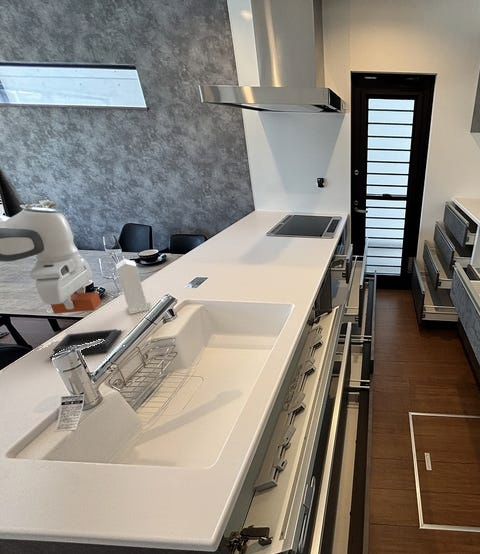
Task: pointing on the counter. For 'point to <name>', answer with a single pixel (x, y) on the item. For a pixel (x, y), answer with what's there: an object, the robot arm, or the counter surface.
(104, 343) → the base pad
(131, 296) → the milk
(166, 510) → the counter surface
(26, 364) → the counter surface
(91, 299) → the top pad
